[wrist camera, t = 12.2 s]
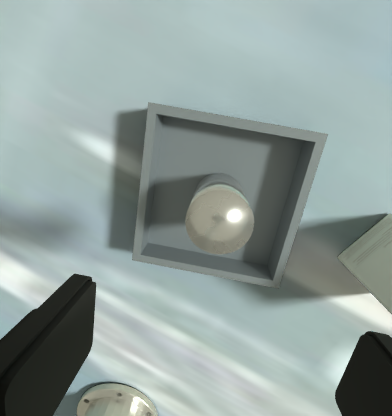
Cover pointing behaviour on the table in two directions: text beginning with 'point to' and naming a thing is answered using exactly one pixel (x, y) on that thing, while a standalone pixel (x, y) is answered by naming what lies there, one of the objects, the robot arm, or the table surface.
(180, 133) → the tray
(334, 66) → the table surface
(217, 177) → the tin can
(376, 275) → the supplement box
